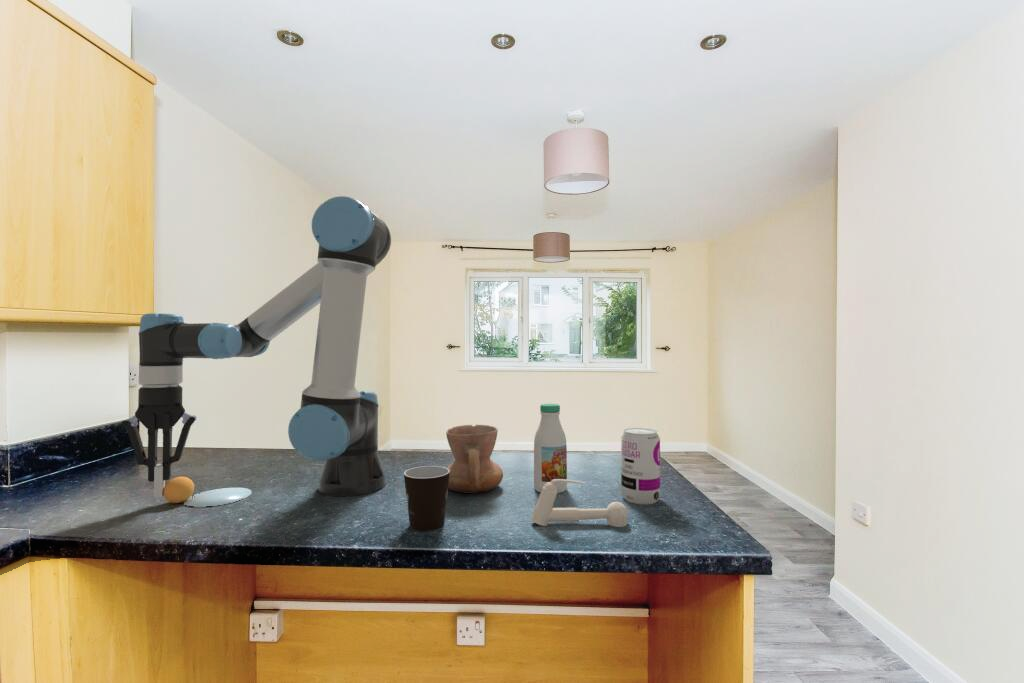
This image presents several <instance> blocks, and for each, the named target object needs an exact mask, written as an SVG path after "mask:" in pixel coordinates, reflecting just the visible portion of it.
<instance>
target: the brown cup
mask: <svg viewBox="0 0 1024 683" xmlns="http://www.w3.org/2000/svg"><path fill="white" fill-rule="evenodd" d="M449 474H450V470H449V469H448V468H447V467H445V466H439V465H424V466H423V465H422V466H421V465H420V466H415V467H412V468H409V469H406V470H405V471H404V472H403V478H404V480H403V481H404V487H405V496H406V503H407V513H408V520H409V521H408V522H409V527H410V529H411V530H414V531H417V532H431V531H436V530H438V529H441V528H443V526H444V525H445V519H446V508H447V502H448V501H447V499H448V493H449V492H448V491H449V488H448V483H449Z"/></svg>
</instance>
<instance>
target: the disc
mask: <svg viewBox="0 0 1024 683" xmlns="http://www.w3.org/2000/svg"><path fill="white" fill-rule="evenodd" d="M199 493H200V494H199ZM252 494H253V493H252V489H249V488H247V487H223V488H216V489H210V490H205V491H202V492H198V493H195V494H193V495H194V496H195V497H194V496H193V499H192V495H191V496H190V497H189V498H188V499H187V500H185V501H183V502H182V504H183V503H184V504H185V505H187V506H186V507H188V506H194V507H193V508H207V507H206V506H213V507H219V506H218V505H220V506H225V505H230V504H233V502H234V503H236V501H237V502H239V500H240V501H243V500H244V499H247V498H249V497H250V496H251V495H252ZM242 499H243V500H242ZM190 500H191V501H190ZM229 503H230V504H229ZM184 504H183V505H184ZM224 504H225V505H224ZM185 505H184V506H185Z"/></svg>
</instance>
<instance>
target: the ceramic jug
mask: <svg viewBox="0 0 1024 683" xmlns="http://www.w3.org/2000/svg"><path fill="white" fill-rule="evenodd" d="M445 433H446V434H445V435H446V439H447V442H448V446H449V448H450V451H451V453H452V455H453V458H454V461H453V462H452V463H451V464H449V465H448V466H447V467H446V468H448V469H449V470H450V474H449V483H448V489H450V490H452V491H455V492H459V493H464V494H477V493H483V492H484V493H485V492H488V491H490V490H491V491H492V489H495V488H496V487H498V486H499V485H500V484H501V482H502V481H503V478H504V472H503V469H502V468H501V467H500V465H499V464H497V463H496V462H494V460H492V459H491V457H492V453H493V451H494V449H495V446H496V442H497V438H498V428H497V427H496V426H493V425H489V424H488V425H487V424H475V425H472V424H463V425H455V426H453V427H451V428H448V429H446V431H445Z"/></svg>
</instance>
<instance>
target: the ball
mask: <svg viewBox="0 0 1024 683" xmlns="http://www.w3.org/2000/svg"><path fill="white" fill-rule="evenodd" d="M194 491H195V484H194V482H193V480H192V479H190V478H189V477H187V476H177V477H174V478H170V479H169V480H168V481H167V482H166V483H165V487H164V489H163V497H164V499H165V500H166V501H167V502H169V503H172V504H179V503H183V501H185V500H187V499H188V498H189V497H190V496H192V495H194Z"/></svg>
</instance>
